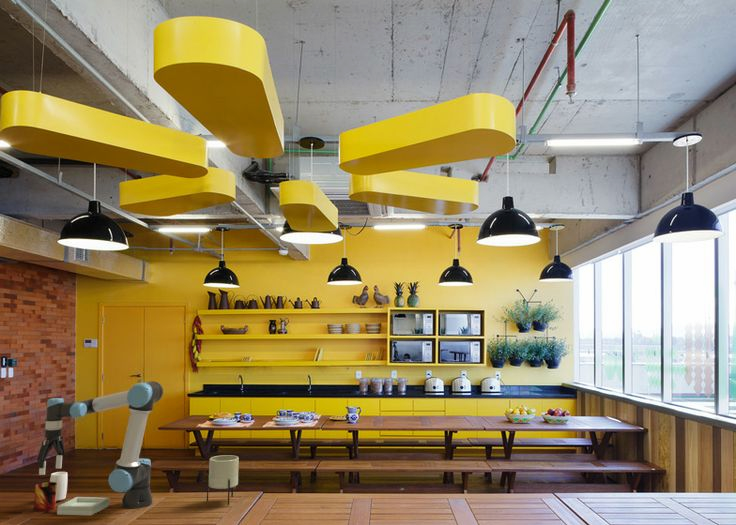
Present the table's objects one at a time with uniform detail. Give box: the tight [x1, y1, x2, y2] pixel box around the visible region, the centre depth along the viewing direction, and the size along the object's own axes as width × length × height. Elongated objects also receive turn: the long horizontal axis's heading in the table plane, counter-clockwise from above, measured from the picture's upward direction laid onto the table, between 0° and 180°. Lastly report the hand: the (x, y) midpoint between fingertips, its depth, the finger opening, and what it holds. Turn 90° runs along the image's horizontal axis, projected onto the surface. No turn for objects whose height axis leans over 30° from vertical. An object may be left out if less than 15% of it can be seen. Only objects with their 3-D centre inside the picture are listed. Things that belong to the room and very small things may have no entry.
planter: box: [206, 454, 240, 506], centre depth 302 cm, size 15×16×23 cm
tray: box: [56, 496, 110, 516], centre depth 286 cm, size 18×16×4 cm
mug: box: [33, 481, 57, 513], centre depth 288 cm, size 10×14×12 cm
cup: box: [49, 471, 69, 502], centre depth 302 cm, size 8×8×14 cm
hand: (50, 471), depth 289 cm, fingers open, 13 cm apart
